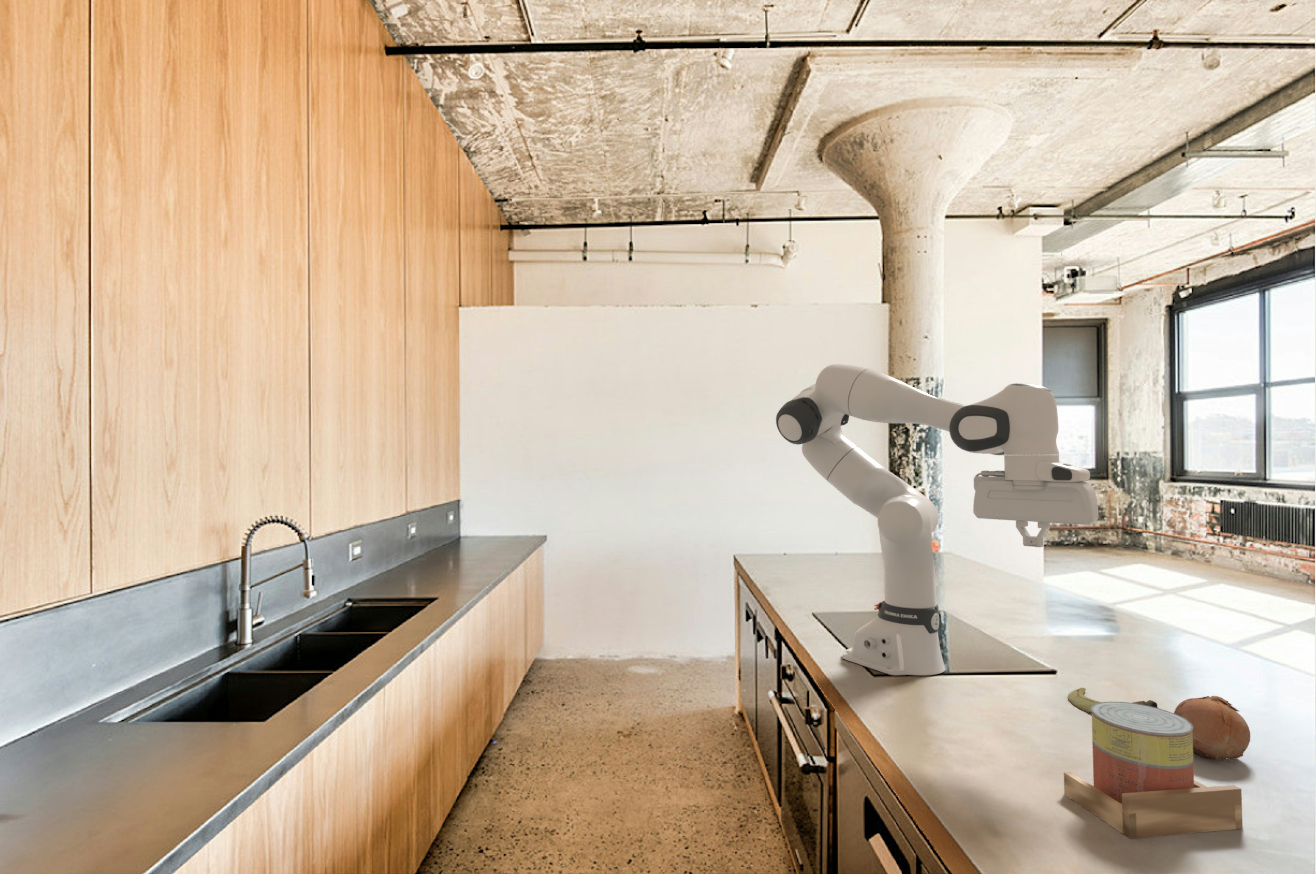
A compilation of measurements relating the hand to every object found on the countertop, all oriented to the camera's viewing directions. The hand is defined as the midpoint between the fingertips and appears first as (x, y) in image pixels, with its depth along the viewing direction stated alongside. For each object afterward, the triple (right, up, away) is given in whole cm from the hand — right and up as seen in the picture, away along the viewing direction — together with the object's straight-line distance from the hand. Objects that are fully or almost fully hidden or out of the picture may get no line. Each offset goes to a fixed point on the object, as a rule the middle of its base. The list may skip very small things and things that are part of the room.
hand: (1033, 546), depth 121 cm
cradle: (-3, -30, -33) cm, 44 cm away
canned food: (-3, -30, -31) cm, 44 cm away
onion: (+19, -31, -16) cm, 40 cm away
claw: (+16, -32, +3) cm, 36 cm away
